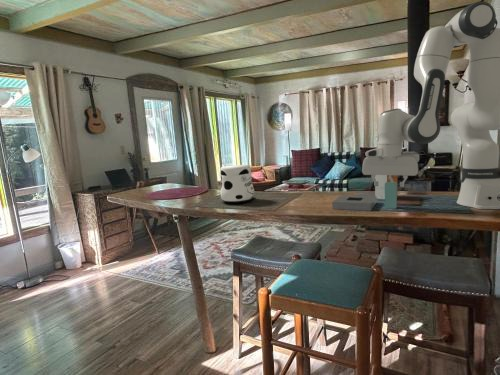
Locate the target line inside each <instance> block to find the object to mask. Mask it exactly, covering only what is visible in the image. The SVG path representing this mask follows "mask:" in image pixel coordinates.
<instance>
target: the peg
mask: <svg viewBox="0 0 500 375" xmlns="http://www.w3.org/2000/svg"><path fill="white" fill-rule="evenodd" d="M397 198H398V181H397V182H386V183H385V199H384V209H388V208H389V209H392V210H393V209H394V210H395V209H397V207H398V201H397V200H398V199H397Z"/></svg>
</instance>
